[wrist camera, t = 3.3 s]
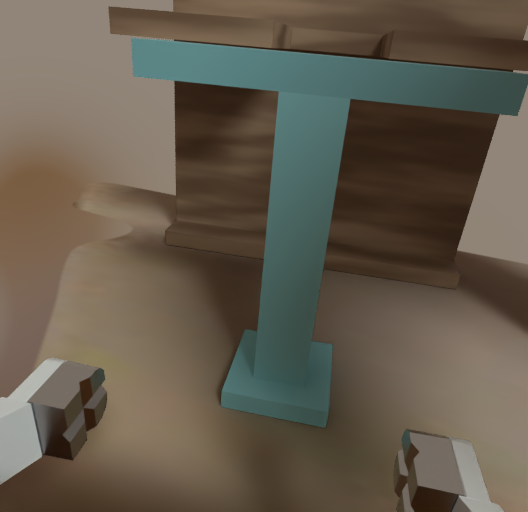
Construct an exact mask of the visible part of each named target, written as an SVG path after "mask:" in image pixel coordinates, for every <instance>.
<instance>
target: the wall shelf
mask: <svg viewBox="0 0 528 512" xmlns="http://www.w3.org/2000/svg"><path fill="white" fill-rule="evenodd" d="M173 5H174V6H173V10H174V12H169V11H157V10H144V9H131V8H120V7H109V19H110V33H111V34H120V35H131V36H142V37H153V38H165V39H174V41H179V42H189V43H200V44H211V45H222V46H233V47H244V48H255V49H266V50H277V51H288V52H299V53H310V54H321V55H332V56H343V57H354V58H365V59H376V60H387V61H398V62H409V63H420V64H431V65H442V66H453V67H464V68H475V69H486V70H497V71H507V72H513V70H521V71H528V41H525V40H523V38H524V35H525V32H526V28H527V25H528V0H173ZM278 95H279V91H270V90H260V89H251V88H241V87H231V86H222V85H212V84H202V83H193V82H183V81H175V145H176V146H175V147H176V149H175V152H176V221H175V222H174V223H173V224H172V225H171V226H170V227H169V228H168V229H167V230H165V235H166V244H167V245H173V246H180V247H186V248H193V249H199V250H206V251H212V252H218V253H225V254H231V255H238V256H244V257H251V258H257V259H264V252H265V241H266V229H267V218H268V207H269V196H270V184H271V173H272V162H273V151H274V140H275V128H276V117H277V106H278ZM498 118H499V114H492V113H483V112H473V111H463V110H454V109H444V108H434V107H425V106H415V105H405V104H396V103H386V102H376V101H367V100H357V99H350V105H349V112H348V118H347V124H346V130H345V136H344V143H343V149H342V155H341V161H340V167H339V174H338V180H337V186H336V192H335V198H334V205H333V211H332V217H331V223H330V229H329V236H328V242H327V248H326V254H325V260H324V267H323V269H328V270H335V271H341V272H348V273H354V274H360V275H367V276H373V277H380V278H386V279H393V280H399V281H406V282H412V283H419V284H425V285H432V286H438V287H444V288H451V289H456V288H457V285H458V282H459V279H460V276H461V275H460V273H459V270H458V268H457V266H456V264H455V262H454V258H455V255H456V251H457V248H458V245H459V241H460V239H461V235H462V232H463V229H464V226H465V223H466V219H467V216H468V213H469V210H470V207H471V203H472V200H473V197H474V194H475V191H476V187H477V184H478V181H479V178H480V175H481V172H482V168H483V165H484V162H485V159H486V156H487V152H488V149H489V146H490V143H491V140H492V137H493V133H494V130H495V127H496V124H497V121H498Z"/></svg>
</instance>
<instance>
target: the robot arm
mask: <svg viewBox="0 0 528 512" xmlns="http://www.w3.org/2000/svg"><path fill="white" fill-rule="evenodd" d="M104 380H105V375H104V370H103V369H101V368H98V367H93V366H89V365H84V364H80V363H76V362H71V361H65V360H61V359H56V358H52V357H51V358H49V359H46V360H45V361H44V362H43V363H42V364H41V365H40V366H39V367H38V368H37V369H36V370H35V371H34V372H33V373H32V374H31V375H30V376H29V377H28V378H27V379H26V380H25V381H24V382H23V383H22V384H21V385H20V386H19V387H18V388H17V389H16V390H15V391H14V392H13V393H12V394H11V395H10V396H9V397H8V398H4V397H1V398H0V484H2V483H3V482H5V481H6V480H8V479H9V478H11V477H12V476H14V475H15V474H17V473H18V472H20V471H21V470H23V469H24V468H26V467H27V466H29V465H30V464H32V463H33V462H35V461H36V460H38V459H39V458H41V457H42V455H47V456H53V457H58V458H63V459H68V460H74V458H75V457H76V455H77V454H78V452H79V451H80V450H81V448H82V447H83V445H84V444H85V442H86V441H87V431H89V430H91V429H92V428H94V427H96V426H97V425H98V423H99V421H100V420H101V418H102V416H103V414H104V411H105V408H106V404H107V392H106V390H105V389H104V388H103V387H102V385H101V384H102V383H103V382H104ZM402 446H403V449H401V450H400V451H398V452H397V456H396V460H395V465H394V491H395V493H396V494H397V495H398V497H399V498H400V499H399V502H398V505H397V508H396V511H397V512H505V511H504V510H503V509H502V508H501V507H500V506H499V505H498V504H496V503H492V502H491V501H490V498H489V495H488V492H487V489H486V486H485V483H484V480H483V476H482V473H481V470H480V467H479V464H478V461H477V458H476V455H475V451H474V448H473V445H472V444H471V442H470V441H468V440H463V439H458V438H452V437H446V436H442V435H437V434H431V433H426V432H421V431H415V430H410V429H406V430H405V432H404V434H403V437H402Z"/></svg>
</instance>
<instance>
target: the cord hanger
mask: <svg viewBox="0 0 528 512" xmlns="http://www.w3.org/2000/svg"><path fill="white" fill-rule="evenodd" d="M131 42H132V60H133V76H135V77H144V78H155V79H165V80H173V81H183V82H193V83H202V84H212V85H222V86H231V87H241V88H251V89H260V90H270V91H279V95H278V106H277V117H276V128H275V140H274V151H273V162H272V173H271V184H270V196H269V207H268V218H267V229H266V241H265V252H264V263H263V274H262V285H261V297H260V308H259V319H258V330H257V331H254V330H248V329H245V331H244V333H243V336H242V339H241V341H240V344H239V347H238V349H237V352H236V355H235V357H234V360H233V362H232V365H231V368H230V370H229V373H228V376H227V378H226V381H225V384H224V386H223V389H222V394H221V407H224V408H229V409H234V410H239V411H244V412H249V413H254V414H259V415H264V416H269V417H274V418H279V419H284V420H288V421H293V422H298V423H303V424H308V425H313V426H318V427H323V428H326V423H327V418H328V413H329V400H330V383H331V367H332V350H333V344H327V343H322V342H316V341H312V335H313V329H314V322H315V316H316V310H317V304H318V298H319V291H320V285H321V279H322V273H323V267H324V260H325V254H326V248H327V242H328V236H329V229H330V223H331V217H332V211H333V205H334V198H335V192H336V186H337V180H338V174H339V167H340V161H341V155H342V149H343V143H344V136H345V130H346V124H347V118H348V112H349V105H350V99H357V100H367V101H376V102H386V103H396V104H405V105H415V106H425V107H434V108H444V109H454V110H463V111H473V112H483V113H492V114H502V115H512V116H517V115H518V112H519V109H520V106H521V103H522V100H523V97H524V94H525V91H526V88H527V85H528V74H522V73H514V72H507V71H497V70H486V69H475V68H464V67H453V66H442V65H431V64H420V63H409V62H398V61H387V60H376V59H365V58H354V57H343V56H332V55H321V54H310V53H299V52H288V51H277V50H266V49H255V48H244V47H233V46H222V45H211V44H200V43H189V42H179V41H167V40H155V39H136V38H132V39H131Z"/></svg>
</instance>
